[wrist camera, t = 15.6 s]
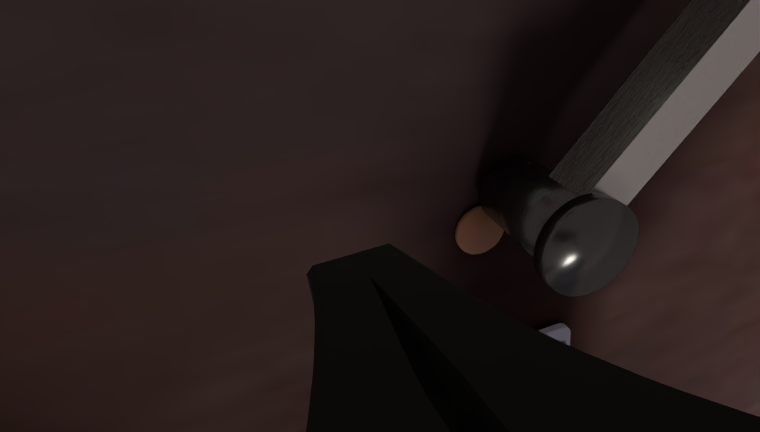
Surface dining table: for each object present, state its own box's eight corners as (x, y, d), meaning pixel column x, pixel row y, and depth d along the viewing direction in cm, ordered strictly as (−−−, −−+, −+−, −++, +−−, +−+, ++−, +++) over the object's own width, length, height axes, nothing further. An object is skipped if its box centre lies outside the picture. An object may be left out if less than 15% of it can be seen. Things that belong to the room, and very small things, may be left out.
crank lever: (838, -288, 16) (1054, -356, 12) (869, -198, 18) (1069, -232, 14) (454, 202, 19) (526, 273, 16) (510, 240, 21) (588, 312, 17)
